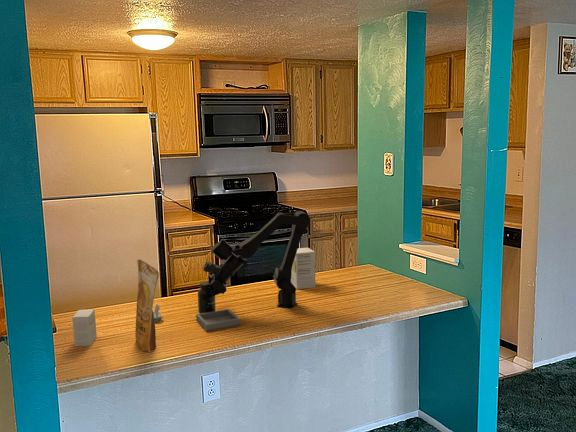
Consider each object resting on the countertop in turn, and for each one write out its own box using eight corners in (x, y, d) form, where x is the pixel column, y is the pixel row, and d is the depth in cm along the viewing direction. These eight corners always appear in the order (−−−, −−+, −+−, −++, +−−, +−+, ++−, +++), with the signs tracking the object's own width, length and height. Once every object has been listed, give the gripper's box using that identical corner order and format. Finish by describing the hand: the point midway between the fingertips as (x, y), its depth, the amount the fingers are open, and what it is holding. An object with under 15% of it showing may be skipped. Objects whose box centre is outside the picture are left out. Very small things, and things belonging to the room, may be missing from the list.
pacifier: (149, 324, 206) (164, 321, 209) (147, 309, 205) (163, 305, 208) (144, 319, 212) (159, 316, 215) (143, 303, 211) (158, 300, 214)
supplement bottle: (212, 315, 214) (211, 286, 212) (196, 314, 215) (194, 285, 213) (218, 310, 220) (216, 281, 219) (202, 309, 222) (200, 280, 220)
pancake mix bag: (151, 333, 197) (146, 257, 192) (164, 351, 180) (159, 269, 176) (132, 336, 194) (127, 259, 190) (143, 355, 177) (138, 271, 173)
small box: (81, 337, 194) (78, 309, 192) (97, 337, 194) (94, 308, 192) (74, 346, 186) (71, 317, 184) (91, 345, 186) (88, 316, 185)
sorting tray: (228, 315, 214) (228, 308, 214) (240, 325, 203) (240, 318, 202) (196, 320, 209) (196, 314, 208) (206, 331, 197) (206, 324, 197)
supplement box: (290, 284, 255) (289, 248, 252) (309, 282, 258) (308, 247, 255) (296, 289, 246) (296, 253, 243) (316, 287, 249) (315, 251, 246)
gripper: (213, 249, 224) (186, 277, 223) (216, 260, 206) (188, 290, 205) (232, 266, 227) (207, 294, 226) (238, 278, 209) (210, 309, 208)
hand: (202, 296), depth 216 cm, fingers closed on supplement bottle, 6 cm apart
